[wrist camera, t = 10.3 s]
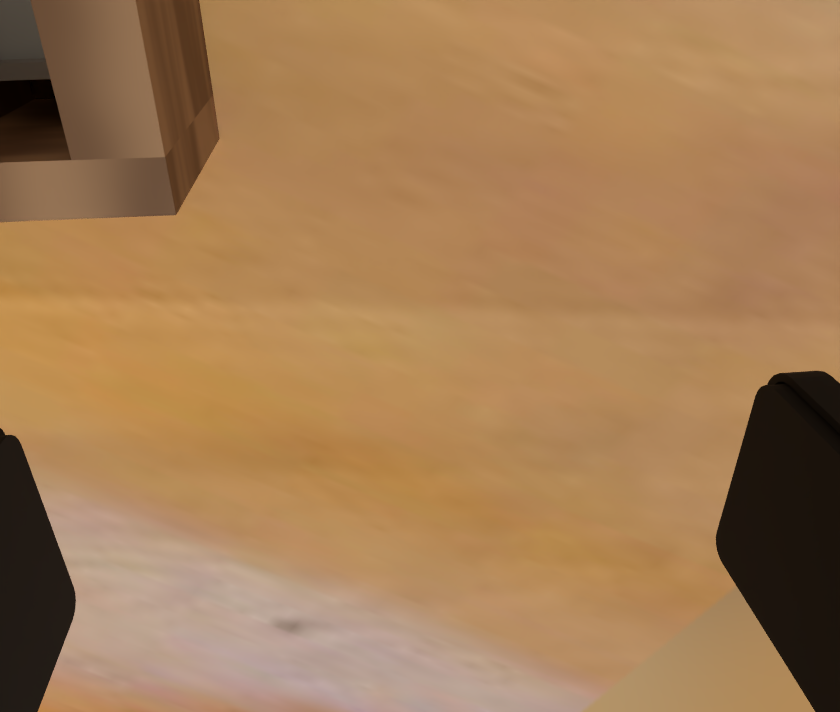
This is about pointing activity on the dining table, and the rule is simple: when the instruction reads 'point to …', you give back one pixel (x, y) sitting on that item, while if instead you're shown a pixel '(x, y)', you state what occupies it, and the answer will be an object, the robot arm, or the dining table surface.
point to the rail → (20, 43)
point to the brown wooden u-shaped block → (109, 113)
